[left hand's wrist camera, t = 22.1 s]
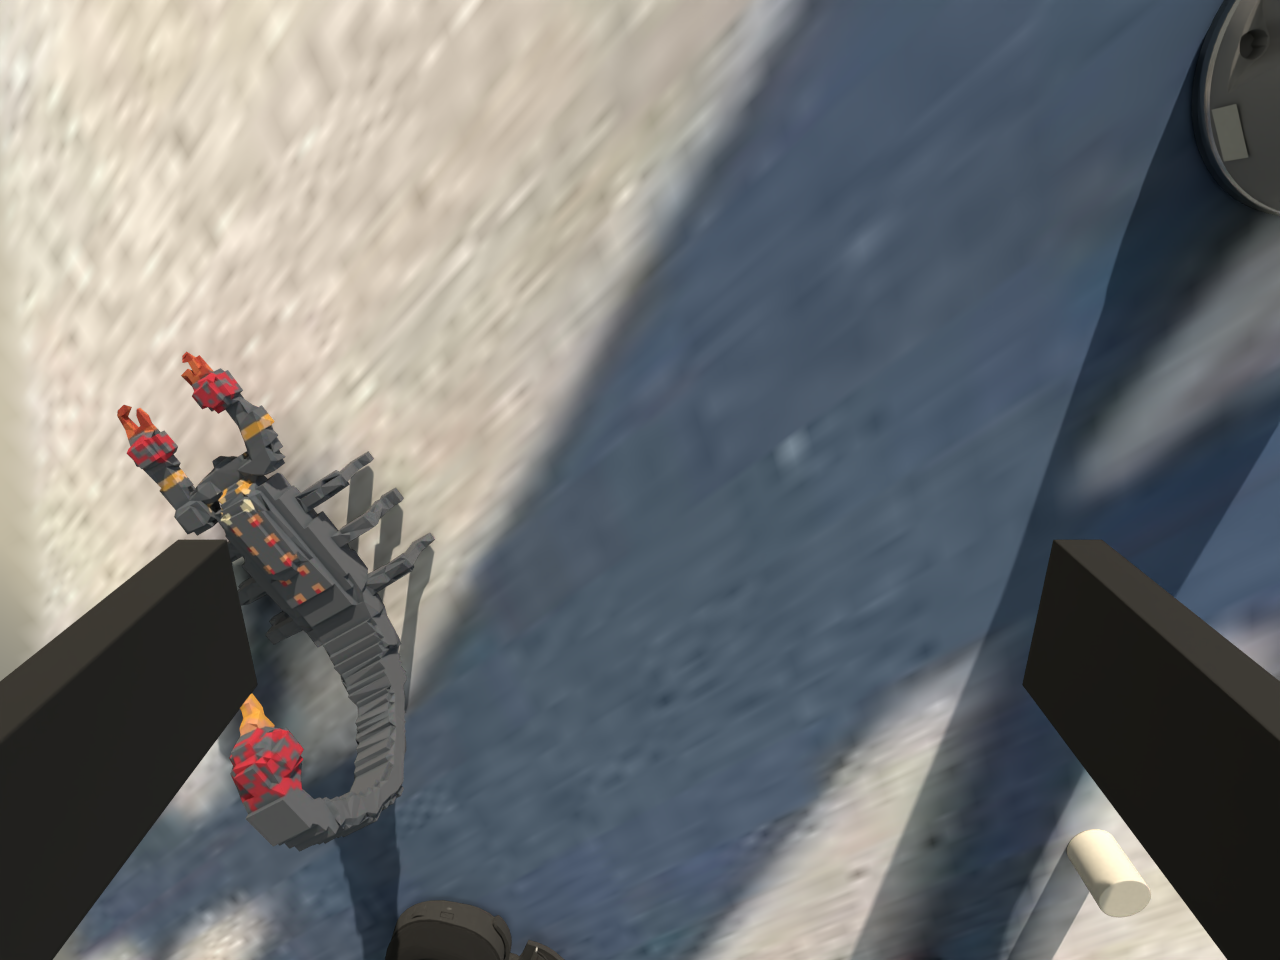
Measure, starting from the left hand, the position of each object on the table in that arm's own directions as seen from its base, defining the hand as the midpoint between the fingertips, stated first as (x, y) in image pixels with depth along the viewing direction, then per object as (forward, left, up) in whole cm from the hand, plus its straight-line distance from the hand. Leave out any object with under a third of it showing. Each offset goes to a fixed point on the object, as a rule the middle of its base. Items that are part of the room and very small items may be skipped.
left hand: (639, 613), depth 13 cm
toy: (+26, -2, -37) cm, 45 cm away
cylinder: (-1, +56, -37) cm, 67 cm away
